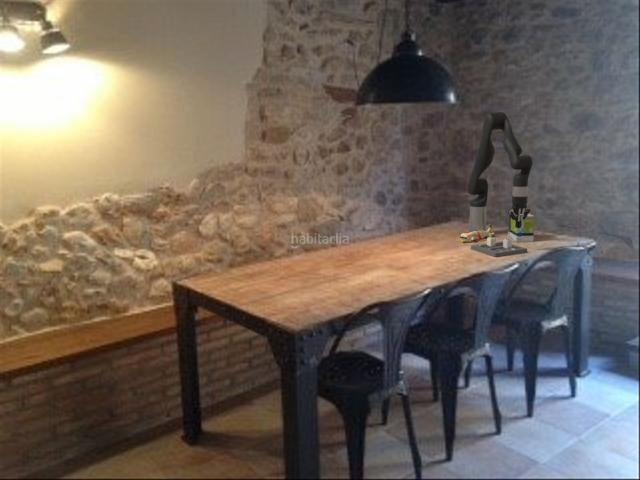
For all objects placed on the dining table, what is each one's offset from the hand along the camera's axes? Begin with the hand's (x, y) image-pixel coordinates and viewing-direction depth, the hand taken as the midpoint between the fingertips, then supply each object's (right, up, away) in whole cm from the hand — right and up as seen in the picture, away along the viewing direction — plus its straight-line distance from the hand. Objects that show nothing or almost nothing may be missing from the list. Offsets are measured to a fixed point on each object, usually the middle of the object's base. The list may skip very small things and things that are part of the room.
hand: (518, 227), depth 299 cm
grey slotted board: (-9, -12, +3) cm, 15 cm away
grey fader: (-6, -10, 0) cm, 12 cm away
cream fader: (-12, -9, +5) cm, 16 cm away
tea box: (+11, -6, +27) cm, 30 cm away
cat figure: (-13, -6, +31) cm, 34 cm away
